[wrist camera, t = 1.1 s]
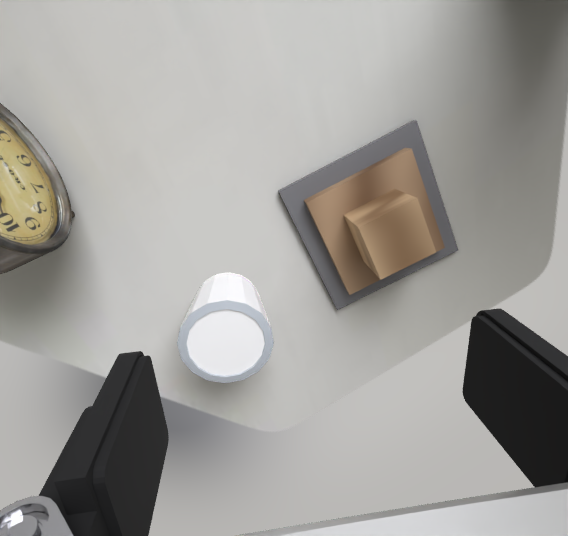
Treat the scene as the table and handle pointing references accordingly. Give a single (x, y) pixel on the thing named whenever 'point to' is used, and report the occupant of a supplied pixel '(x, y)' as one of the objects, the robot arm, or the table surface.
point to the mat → (344, 168)
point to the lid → (376, 221)
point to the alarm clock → (28, 197)
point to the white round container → (225, 330)
